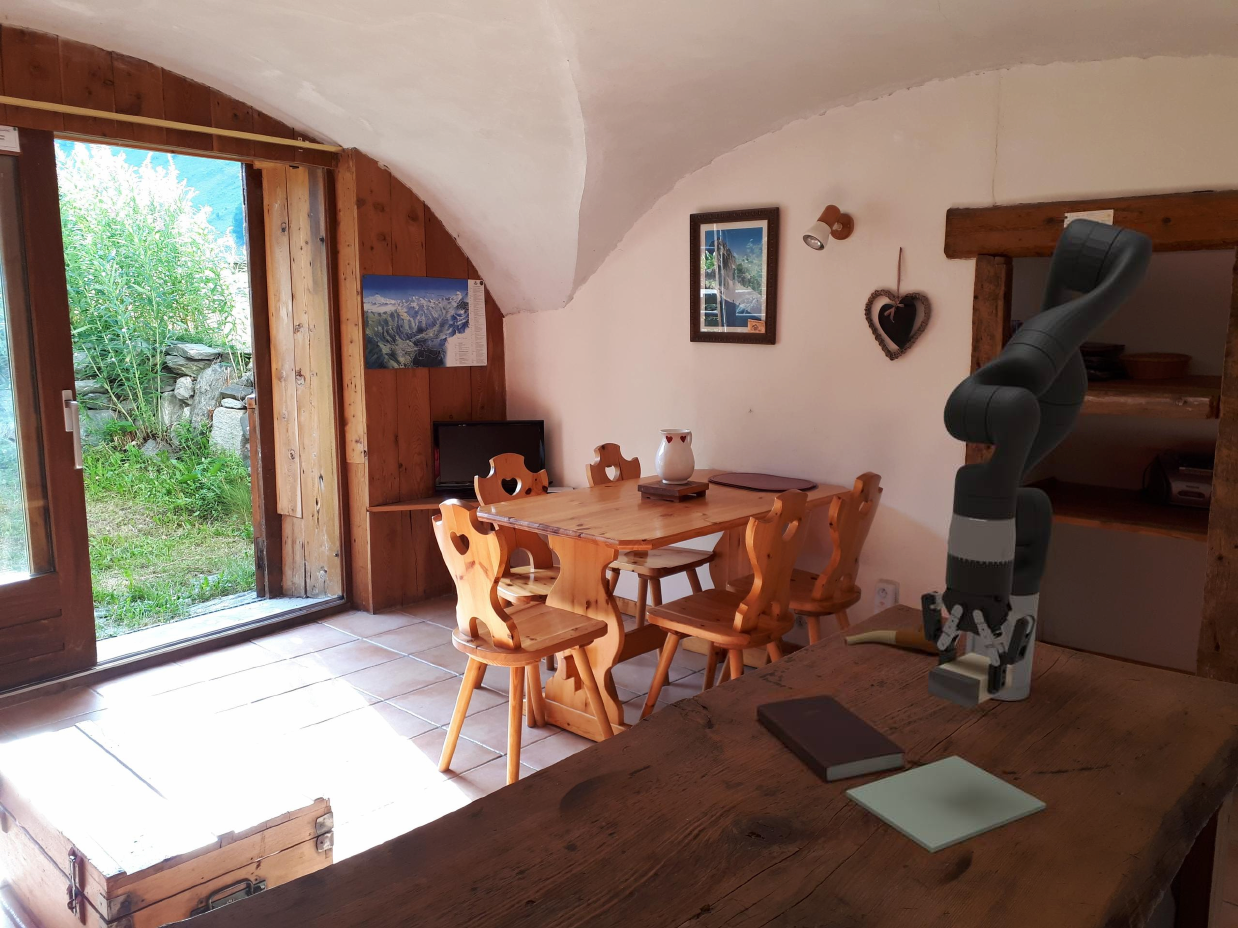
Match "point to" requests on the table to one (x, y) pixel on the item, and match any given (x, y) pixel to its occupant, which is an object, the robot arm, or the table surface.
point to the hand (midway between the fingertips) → (970, 684)
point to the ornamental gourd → (897, 639)
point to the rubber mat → (944, 802)
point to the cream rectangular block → (964, 680)
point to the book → (830, 737)
